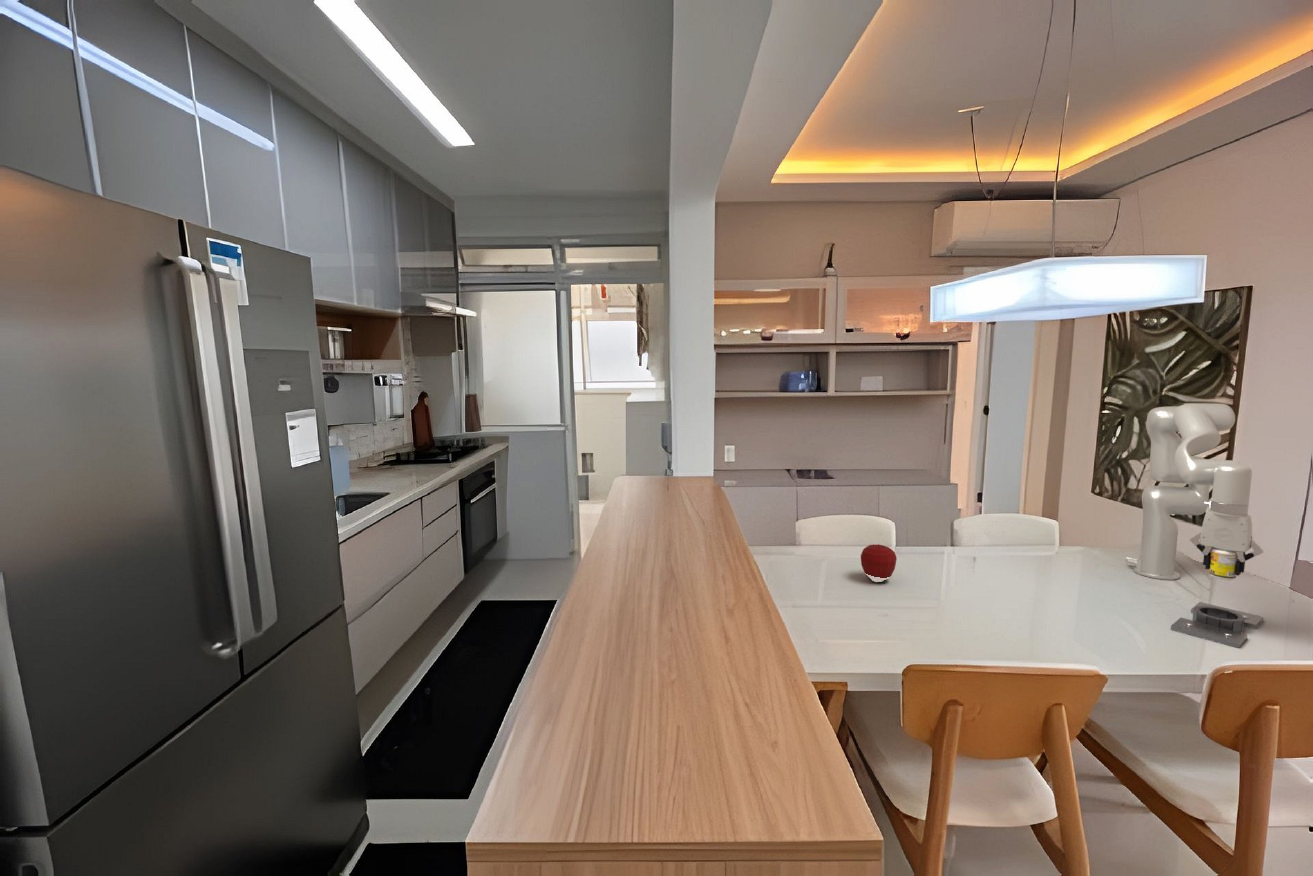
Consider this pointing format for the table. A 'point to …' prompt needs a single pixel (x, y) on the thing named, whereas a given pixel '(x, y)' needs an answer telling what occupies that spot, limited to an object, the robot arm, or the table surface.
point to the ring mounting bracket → (1218, 624)
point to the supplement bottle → (1223, 564)
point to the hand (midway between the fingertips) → (1222, 570)
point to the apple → (878, 561)
